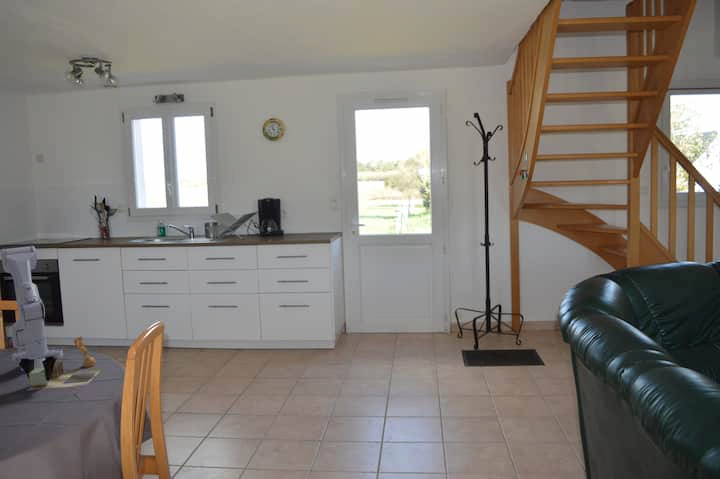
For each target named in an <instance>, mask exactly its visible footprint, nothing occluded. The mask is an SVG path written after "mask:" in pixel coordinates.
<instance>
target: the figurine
mask: <svg viewBox="0 0 720 479" xmlns="http://www.w3.org/2000/svg"><path fill="white" fill-rule="evenodd" d="M83 339H84V338H83V336H82V335H80V336H79V337H78V338H75V339H74V340H73V343H74V345H75V346H76V347H77V348H78V349H79V350H80V352H81V353H82V354H83V357H84V358H85V359H83V362H82V365H83V367H84V368H89V367H90V368H91V367H94V366H95V365H96V363H97V362H96V361H97V360H96V359H95V358H94V357H91V356H90V355H87V354H88V351H89V350H88V348H86V344H85V343H84V342H83Z"/></svg>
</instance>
